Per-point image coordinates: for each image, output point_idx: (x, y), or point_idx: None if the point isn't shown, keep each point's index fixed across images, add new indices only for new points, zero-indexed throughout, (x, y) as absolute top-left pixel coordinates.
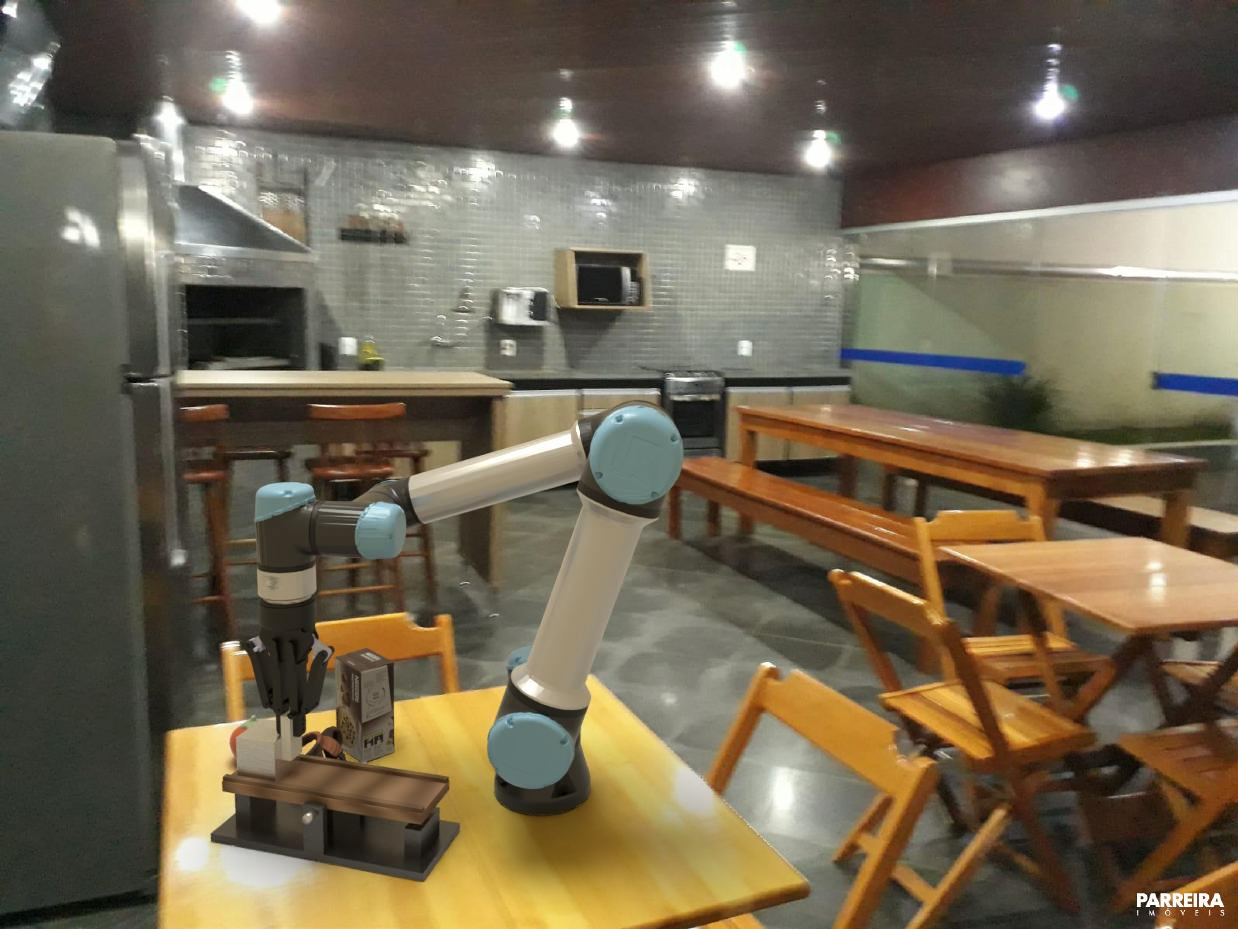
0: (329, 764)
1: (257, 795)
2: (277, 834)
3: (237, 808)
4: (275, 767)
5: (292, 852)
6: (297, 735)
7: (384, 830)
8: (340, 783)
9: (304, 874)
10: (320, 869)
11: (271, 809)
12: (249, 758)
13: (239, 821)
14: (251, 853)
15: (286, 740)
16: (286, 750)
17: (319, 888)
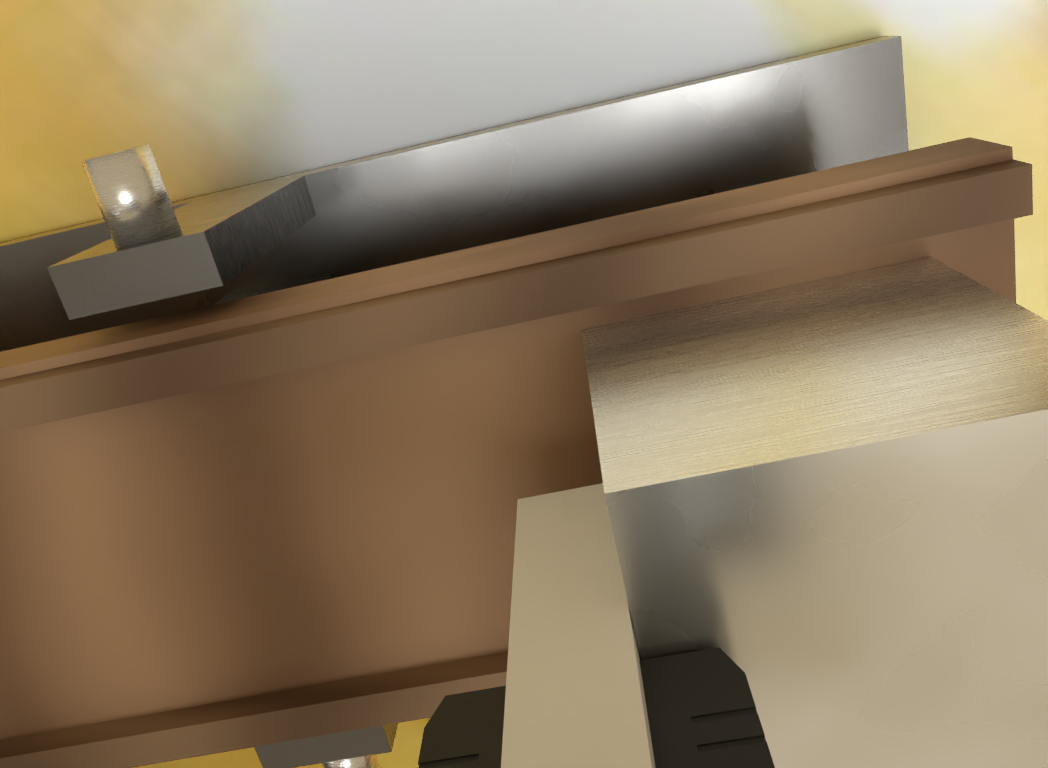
0: (432, 668)
1: (661, 209)
2: (545, 219)
3: None
4: (589, 384)
5: (375, 157)
6: (467, 707)
7: None
8: (177, 536)
9: (213, 75)
10: (181, 147)
11: None
12: (874, 339)
13: None
14: (595, 71)
15: (559, 611)
16: (563, 545)
17: (55, 24)
